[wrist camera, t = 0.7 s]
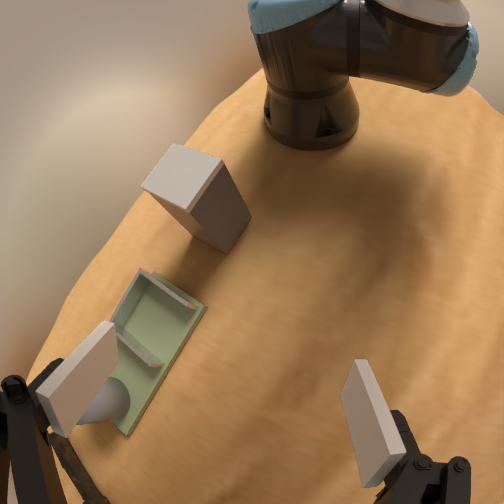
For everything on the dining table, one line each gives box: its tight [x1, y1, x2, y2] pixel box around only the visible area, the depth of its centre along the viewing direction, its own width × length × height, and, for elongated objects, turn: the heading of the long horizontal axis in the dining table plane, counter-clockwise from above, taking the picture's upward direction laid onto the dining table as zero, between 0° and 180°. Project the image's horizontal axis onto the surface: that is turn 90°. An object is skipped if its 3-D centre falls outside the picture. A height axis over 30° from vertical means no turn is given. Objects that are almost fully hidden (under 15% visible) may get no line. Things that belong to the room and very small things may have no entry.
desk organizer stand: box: [76, 272, 208, 435], centre depth 31 cm, size 22×9×10 cm, turn 148°
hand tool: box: [49, 432, 110, 504], centre depth 28 cm, size 19×4×5 cm, turn 36°
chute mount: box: [109, 268, 199, 367], centre depth 34 cm, size 9×8×3 cm
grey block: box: [141, 143, 252, 255], centre depth 33 cm, size 6×7×13 cm
